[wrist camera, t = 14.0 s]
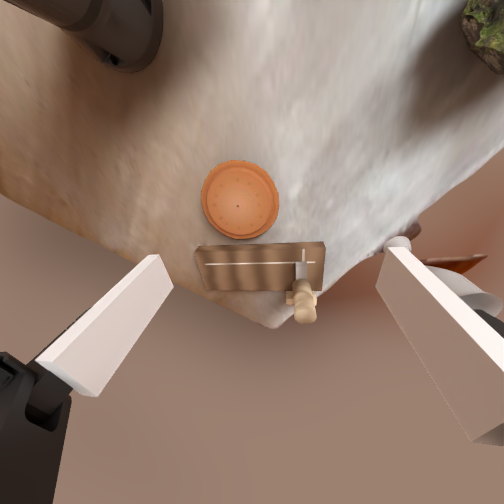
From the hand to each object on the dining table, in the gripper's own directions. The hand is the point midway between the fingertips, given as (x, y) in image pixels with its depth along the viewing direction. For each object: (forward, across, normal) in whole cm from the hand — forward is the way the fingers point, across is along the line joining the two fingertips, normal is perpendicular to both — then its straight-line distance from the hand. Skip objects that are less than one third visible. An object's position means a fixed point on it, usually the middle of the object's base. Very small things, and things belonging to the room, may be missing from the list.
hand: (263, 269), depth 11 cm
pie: (+30, -7, -4) cm, 31 cm away
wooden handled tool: (+28, +5, -24) cm, 37 cm away
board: (+29, -5, -21) cm, 36 cm away
